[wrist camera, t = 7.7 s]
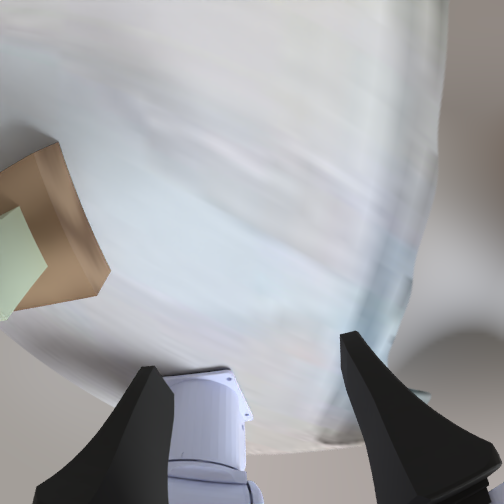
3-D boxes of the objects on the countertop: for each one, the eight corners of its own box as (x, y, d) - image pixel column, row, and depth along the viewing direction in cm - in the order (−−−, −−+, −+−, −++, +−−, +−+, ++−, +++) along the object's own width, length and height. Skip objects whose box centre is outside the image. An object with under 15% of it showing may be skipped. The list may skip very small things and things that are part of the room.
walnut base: (111, 270, 21) (96, 295, 18) (25, 290, 22) (9, 311, 19) (58, 142, 16) (33, 153, 13) (-23, 190, 17) (-46, 204, 14)
